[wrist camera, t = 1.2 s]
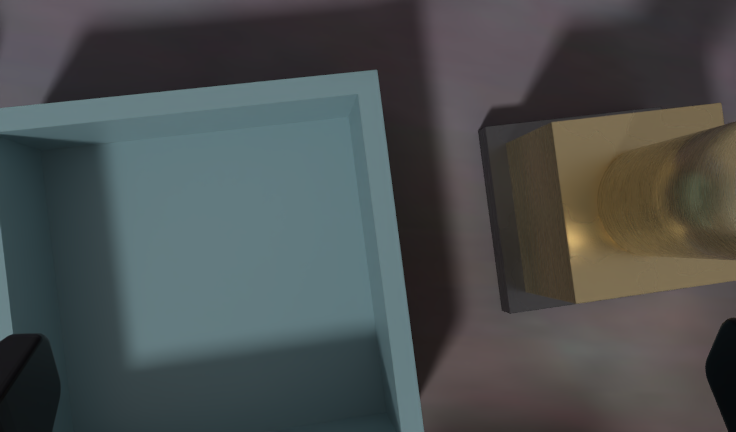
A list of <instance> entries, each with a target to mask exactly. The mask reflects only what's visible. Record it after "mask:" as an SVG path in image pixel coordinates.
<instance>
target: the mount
mask: <svg viewBox="0 0 736 432" xmlns="http://www.w3.org/2000/svg"><path fill="white" fill-rule="evenodd" d="M654 110H662V107H656V108H647V109H638V110H630V111H621V112H612V113H603V114H595V115H586V116H577V117H568V118H559V119H551V120H542V121H533V122H524V123H515V124H507V125H498V126H489V127H484V128H483V129H481V130H479V131H478V134H479V141H480V149H481V156H482V164H483V171H484V179H485V186H486V194H487V201H488V209H489V216H490V224H491V232H492V239H493V247H494V254H495V262H496V269H497V277H498V284H499V292H500V299H501V307H502V311H504V312H507V313H510V314H511V313H517V312H524V311H531V310H538V309H545V308H552V307H559V306H565V305H572V304H575V303H571V302H566V301H562V300H558V299H553V298H549V297H545V296H540V295H536V294H532V293H527V292H526V290H525V282H524V275H523V267H522V260H521V252H520V245H519V237H518V230H517V222H516V215H515V207H514V200H513V192H512V185H511V177H510V170H509V162H508V155H507V147H506V143H508V142H510V141H512V140H514V139H516V138H519V137H521V136H523V135H525V134H527V133H529V132H531V131H534V130H536V129H538V128H540V127H542V126H544V125H547V124H549V123H551V122H558V121H566V120H575V119H584V118H593V117H601V116H610V115H619V114H628V113H636V112H645V111H654ZM681 289H682V288H681ZM674 290H675V289H674ZM667 291H668V290H667ZM660 292H662V291H660ZM653 293H655V292H653ZM646 294H648V293H646ZM640 295H641V294H640ZM633 296H634V295H633ZM626 297H627V296H626ZM619 298H620V297H619ZM612 299H614V298H612ZM605 300H607V299H605ZM598 301H600V300H598ZM592 302H593V301H592ZM585 303H586V302H585ZM578 304H579V303H578Z"/></svg>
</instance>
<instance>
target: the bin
mask: <svg viewBox="0 0 736 432" xmlns="http://www.w3.org/2000/svg"><path fill="white" fill-rule="evenodd" d="M21 333H42V334H44V335H46V336H47V338H48V339H49V341H50V344H51V348H52V351H53V355H54V359H55V362H56V366H57V370H58V373H59V377H60V381H61V395H60V401H59V405H58V410H57V414H56V418H55V423H54V427H53V431H52V432H424V427H423V420H422V412H421V404H420V396H419V389H418V381H417V373H416V366H415V358H414V350H413V342H412V335H411V327H410V319H409V312H408V304H407V296H406V288H405V281H404V273H403V265H402V258H401V250H400V242H399V234H398V227H397V219H396V211H395V203H394V196H393V188H392V180H391V173H390V165H389V157H388V149H387V142H386V134H385V126H384V119H383V111H382V103H381V95H380V88H379V80H378V72H377V70H369V71H359V72H350V73H340V74H330V75H320V76H310V77H301V78H291V79H281V80H271V81H261V82H252V83H242V84H232V85H222V86H213V87H203V88H193V89H183V90H173V91H164V92H154V93H144V94H134V95H124V96H115V97H105V98H95V99H85V100H76V101H66V102H56V103H46V104H36V105H27V106H17V107H7V108H0V341H1V340H3V339H4V338H6V337H7V336H9V335H11V334H21Z"/></svg>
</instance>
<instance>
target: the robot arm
mask: <svg viewBox="0 0 736 432" xmlns="http://www.w3.org/2000/svg"><path fill="white" fill-rule="evenodd" d="M705 369H706V376H707V380H708V382H709V385H710V387H711V390H712V392H713V395H714V397H715V400H716V402H717V405H718V407H719V410H720V412H721V415H722V417H723V420H724V422H725V424H726V427H727V429H728V432H736V318H730V319H727V320H726V321H725V322H724V323H722V325H721V327H720V329H719V332H718V334H717V336H716V339H715V341H714V343H713V346H712V348H711V350H710V353H709V355H708V357H707V360H706V366H705ZM60 395H61V381H60V377H59V373H58V370H57V366H56V362H55V359H54V355H53V351H52V348H51V344H50V341H49V339H48V338H47V336H46V335H44V334H42V333H21V334H11V335H9V336H7V337H6V338H4V339H3V340H1V341H0V432H52V431H53V427H54V423H55V418H56V414H57V410H58V405H59V401H60Z"/></svg>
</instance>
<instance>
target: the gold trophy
mask: <svg viewBox="0 0 736 432" xmlns="http://www.w3.org/2000/svg"><path fill="white" fill-rule="evenodd" d="M506 147H507V155H508V162H509V170H510V177H511V185H512V192H513V200H514V207H515V215H516V222H517V230H518V237H519V245H520V252H521V260H522V267H523V275H524V282H525V290H526V292H527V293H532V294H536V295H540V296H545V297H549V298H553V299H558V300H562V301H566V302H571V303H575V304H578V303H585V302H592V301H598V300H605V299H612V298H619V297H626V296H633V295H640V294H646V293H653V292H660V291H667V290H674V289H681V288H688V287H695V286H701V285H708V284H715V283H722V282H729V281H736V122H732V123H729V124H725V125H724V120H723V112H722V105H721V103H715V104H706V105H698V106H689V107H680V108H671V109H663V110H654V111H645V112H636V113H628V114H619V115H610V116H601V117H593V118H584V119H575V120H566V121H558V122H551V123H549V124H547V125H544V126H542V127H540V128H538V129H536V130H534V131H531V132H529V133H527V134H525V135H523V136H521V137H519V138H516V139H514V140H512V141H510V142H508V143H506Z"/></svg>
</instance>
